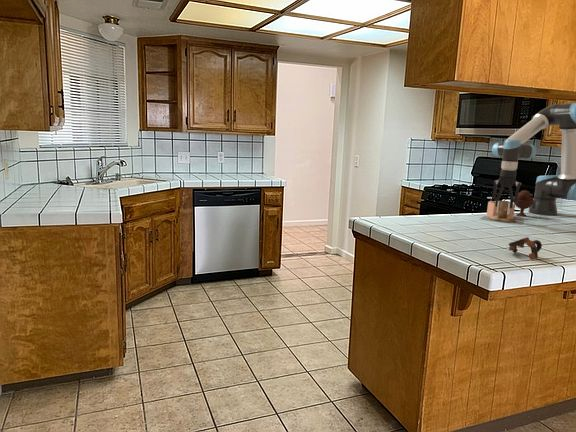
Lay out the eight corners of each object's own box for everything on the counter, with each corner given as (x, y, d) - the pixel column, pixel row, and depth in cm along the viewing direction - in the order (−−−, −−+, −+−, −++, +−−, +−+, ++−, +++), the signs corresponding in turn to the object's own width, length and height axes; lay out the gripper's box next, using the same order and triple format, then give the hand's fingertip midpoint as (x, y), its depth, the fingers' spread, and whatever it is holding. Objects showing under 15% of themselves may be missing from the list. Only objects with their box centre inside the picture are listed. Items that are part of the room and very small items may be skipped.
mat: (524, 222, 238) (524, 221, 238) (520, 225, 227) (521, 224, 227) (484, 216, 249) (484, 215, 249) (479, 220, 238) (479, 219, 238)
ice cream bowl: (536, 217, 256) (540, 191, 253) (522, 217, 252) (525, 191, 249) (520, 213, 266) (524, 188, 263) (506, 214, 261) (510, 188, 259)
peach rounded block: (517, 220, 240) (519, 201, 238) (513, 223, 229) (516, 203, 227) (491, 216, 247) (493, 198, 245) (486, 219, 236) (489, 200, 234)
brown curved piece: (526, 262, 160) (517, 240, 162) (509, 266, 169) (500, 246, 171) (552, 252, 163) (543, 231, 165) (534, 257, 172) (525, 237, 174)
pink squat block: (514, 217, 252) (516, 203, 251) (510, 220, 242) (512, 205, 240) (489, 214, 259) (491, 200, 258) (485, 217, 249) (486, 202, 247)
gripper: (489, 168, 235) (483, 212, 239) (526, 171, 225) (520, 216, 230) (492, 168, 241) (486, 210, 245) (528, 170, 231) (521, 214, 236)
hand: (502, 213), depth 237 cm, fingers closed on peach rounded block, 4 cm apart
